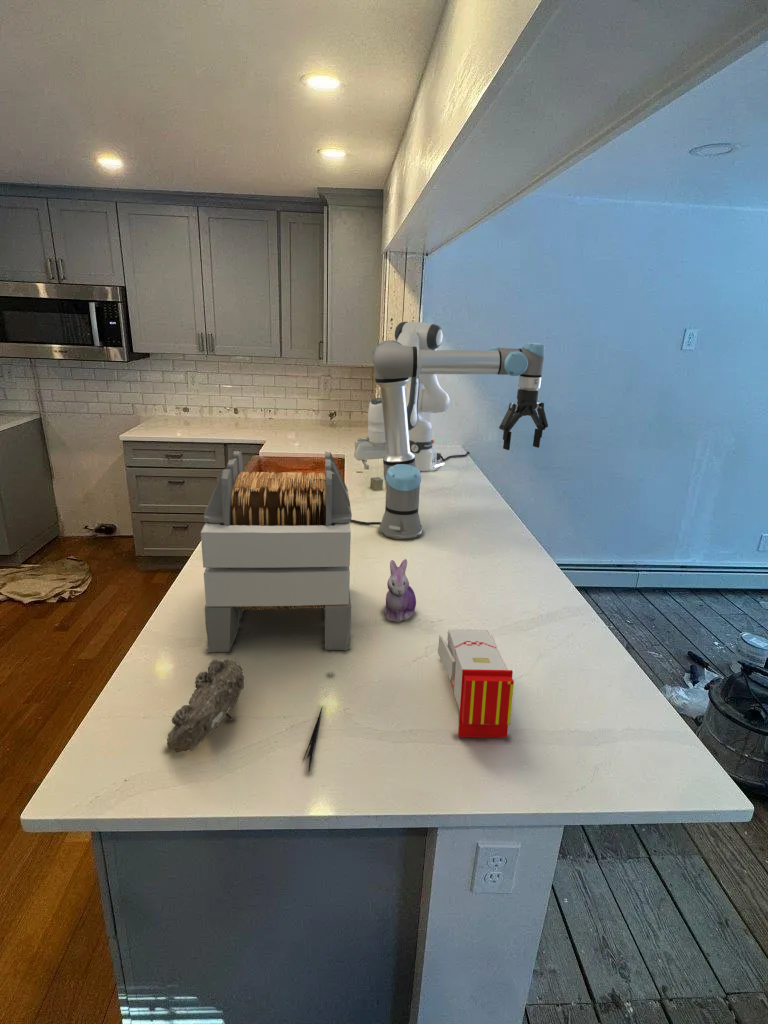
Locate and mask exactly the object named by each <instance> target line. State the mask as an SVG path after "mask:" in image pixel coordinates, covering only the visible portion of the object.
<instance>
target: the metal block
mask: <svg viewBox="0 0 768 1024" xmlns="http://www.w3.org/2000/svg"><path fill="white" fill-rule="evenodd" d="M369 484H370V485H369V488H370V489H371V490H372V491H383V488H384V478H381V477H380V476H375V477H370V483H369Z"/></svg>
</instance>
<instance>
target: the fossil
mask: <svg viewBox="0 0 768 1024" xmlns="http://www.w3.org/2000/svg"><path fill="white" fill-rule="evenodd" d="M243 670H244V669H243V667H242V665H240V664H237V662H236V661H235V660H234V659H232V658H231V659H227V658H226V659H224V660H223V661H222V660H217V659H212V660H211V661H210V663H209V665H208V666H207V671H201V672H199V673H198V674H197V675H196V676H195V680H194V684H195V685H194V687H195V689H194V690H193V693H192V694H191V697H190V698H189V700H188V704H184V705H182V706H181V707H180V709H177V710H176V711H175V713H174V715H173V716H172V718H171V723H172V724H173V727H172V730H171V731H170V732H168V734H167V738H166V741H167V742H166V745H167V749H168V750H169V751H173V752H174V753H176V754H178V753H182V752H188V751H189V752H192V751H193V750H195V748H196V747H197V746H199V744H200V743H201V742H203V741H204V740H205V739H206V738H207V737H208V736H209V735H210V734H211V733H212V732H214V730H215V729H217V727H218V726H219V724H220V722H221V721H222V720H223V719H224V718H225V716H226V717H227V719H229V720H233V717H232V715H230V714H229V710H230V709H231V708H234V706H235V704H236V703H237V702H238V699H239V697H240V695H241V693H242V691H243V690H245V689H244V688H245V675H244V671H243Z"/></svg>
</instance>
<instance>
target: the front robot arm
mask: <svg viewBox="0 0 768 1024" xmlns="http://www.w3.org/2000/svg"><path fill="white" fill-rule="evenodd" d="M545 354H546V347H545V344H543V343H538V342H537V343H536V342H524V343H523V345H522V347H521V348H510V347H500V346H499V347H490V348H488V350H476V349H475V350H470V349H469V350H468V349H467V350H464V349H455V350H453V349H437V350H420V349H419V348H418V347H410V346H404V345H402V344H400V343H399V342H397V341H396V340H395V339H394V340H391V339H390V340H389V339H388V340H384V341H382V342H379V344H377V346H376V347H375V348H374V350H373V353H372V363H373V369H374V380H375V384H376V385H377V386H378V387H379V388H380V398H381V399H382V410H383V420H384V431H385V442H386V455H385V456H384V457H383V458H382V463H383V480H384V483H385V484H384V485H385V504H384V505H385V507H384V508H385V509H384V513H383V515H382V519H381V521H360V520H357V519H351V521H350V522H349V523H353V524H358V525H365V526H378V533H379V534H380V535H381V536H382V537H385V538H387V539H389V540H395V541H410V540H415V539H418V538H420V537H421V536H422V535H423V525H422V524H421V518H420V515H419V507H420V506H419V505H420V490H421V483H422V475H421V471H419V470H418V469H417V468H416V467H415V455H414V454H413V453H411V452H410V444H409V431H408V419H407V406H406V393H405V389H406V385H407V384H406V383H407V382H408V380H409V377H418V376H419V375H420V374H436V375H497V376H498V375H499V376H501V375H502V376H503V375H504V376H505V375H506V376H507V375H509V376H511V377H518V384H517V387H518V389H517V392H516V400H517V402H516V403H514V402H510V403H509V404H508V409H507V411H506V413H505V414H504V416H503V419H502V421H501V423H500V424H499V427H498V429H499V430H502V431H503V434H502V440H503V445H502V449H503V450H506V451H510V448H511V440H512V431H511V430H512V429H513V427H514V426H515V425H516V424H517V422H518V421H519V420H520V419H521V418H522V417H526V416H529V417H530V418H531V420H532V422H533V423H534V424H535V427H536V428H534V434H533V439H532V440H533V441H532V447H535V448H537V449H539V448H540V443H541V438H543V431H545V430H546V429H547V428H549V424H548V420H547V419H548V418H547V416H546V412H545V403H544V402H542V401H539V398H540V388H541V382H542V375H543V368H544V363H545V362H544V361H545Z"/></svg>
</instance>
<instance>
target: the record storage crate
mask: <svg viewBox="0 0 768 1024" xmlns="http://www.w3.org/2000/svg"><path fill="white" fill-rule="evenodd" d="M337 465H338V464H337V463H336V461H335V459H334V457H333V454H332V452H330V451H324V472H317V473H316V472H307V473H306V472H305V473H304V472H301V471H300V472H299V471H298V472H297V471H296V472H294V471H293V472H292V471H291V472H290V471H289V472H288V471H282V472H278V473H277V472H274V471H261V472H259V471H251V472H250V471H244V469H243V468H244V467H243V466H244V465H243V453H242V451H237V450H234V451H233V453H232V454H231V457H230V458H229V459H228V462H227V464H226V466H225V468H224V469H223V470H222V471H221V474H220V476H219V479H218V481H217V483H216V485H215V487H214V490H213V492H212V494H211V497H210V498H209V502H208V503H207V506H206V508H205V510H204V514H203V521H204V522H205V523H204V525H203V527H202V529H201V531H200V541H201V556H202V568H205V570H204V571H203V582H204V596H205V599H204V600H205V605H204V621H205V633H206V640H207V641H206V642H207V648H206V651H207V653H215V652H217V653H218V652H219V653H220V652H221V653H222V652H223V653H224V652H226V653H227V652H230V651H231V649H232V646H233V644H234V642H235V638H236V637H237V634H238V632H239V629H240V624H239V623H240V622H239V621H240V620H242V617H243V613H244V611H245V610H252V611H254V610H255V611H256V610H293V609H294V610H296V609H297V610H299V609H300V610H301V609H303V610H306V609H307V610H310V609H312V610H313V609H324V611H323V612H324V614H323V616H324V617H323V618H324V650H325V651H326V650H332V651H333V650H334V651H335V650H342V651H347V650H349V649H350V648H351V631H352V626H351V625H352V603H351V591H350V580H351V579H350V578H351V576H350V575H351V570H350V566H351V543H352V542H351V538H352V537H351V536H352V535H351V534H352V531H351V525H350V523H351V522H350V521H351V520H352V516H353V515H352V509H351V508H352V507H351V501H350V496H349V495H350V494H349V489H348V486H347V485H346V483H345V480H344V478H343V476H342V474H341V471H340V470H339V467H338V466H337Z"/></svg>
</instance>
